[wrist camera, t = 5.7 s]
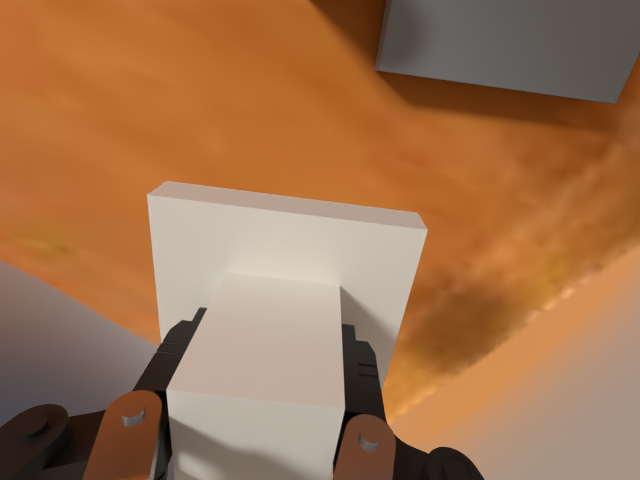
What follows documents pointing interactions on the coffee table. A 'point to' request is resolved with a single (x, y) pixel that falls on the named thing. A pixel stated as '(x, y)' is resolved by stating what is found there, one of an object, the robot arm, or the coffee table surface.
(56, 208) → the coffee table surface
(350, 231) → the lid
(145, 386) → the robot arm
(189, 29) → the coffee table surface
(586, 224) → the coffee table surface
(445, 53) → the socket plate
